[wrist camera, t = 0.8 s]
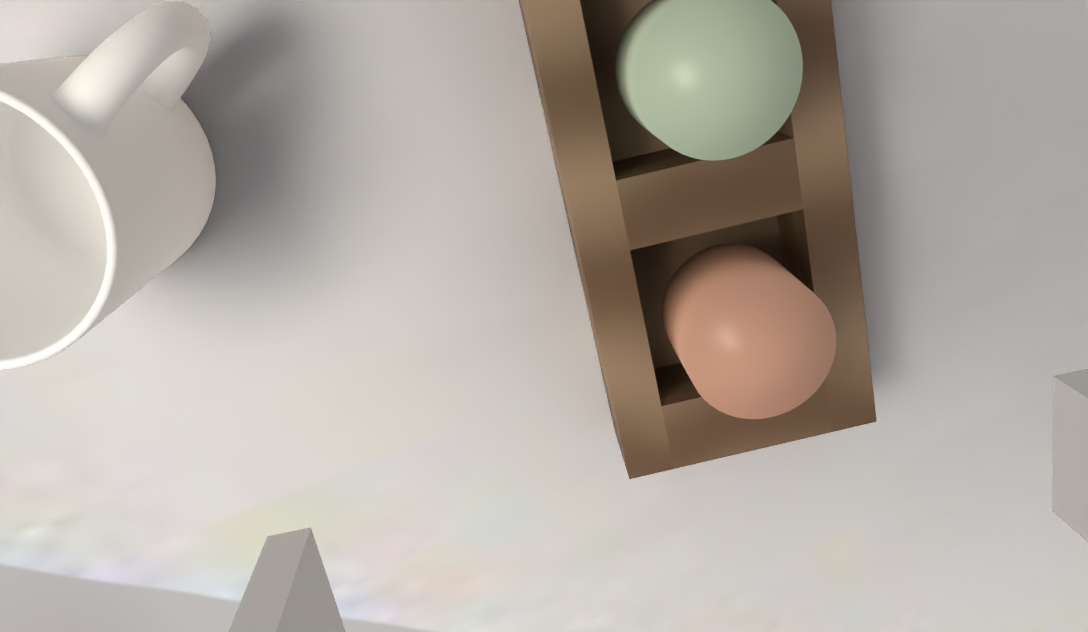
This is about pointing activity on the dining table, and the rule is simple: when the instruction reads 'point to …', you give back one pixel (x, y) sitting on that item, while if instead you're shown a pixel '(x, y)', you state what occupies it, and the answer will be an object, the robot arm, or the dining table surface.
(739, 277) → the peach rounded piece
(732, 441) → the wooden compartment tray
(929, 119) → the dining table surface
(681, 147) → the pale green rounded piece
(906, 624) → the dining table surface
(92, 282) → the mug
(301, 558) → the robot arm
